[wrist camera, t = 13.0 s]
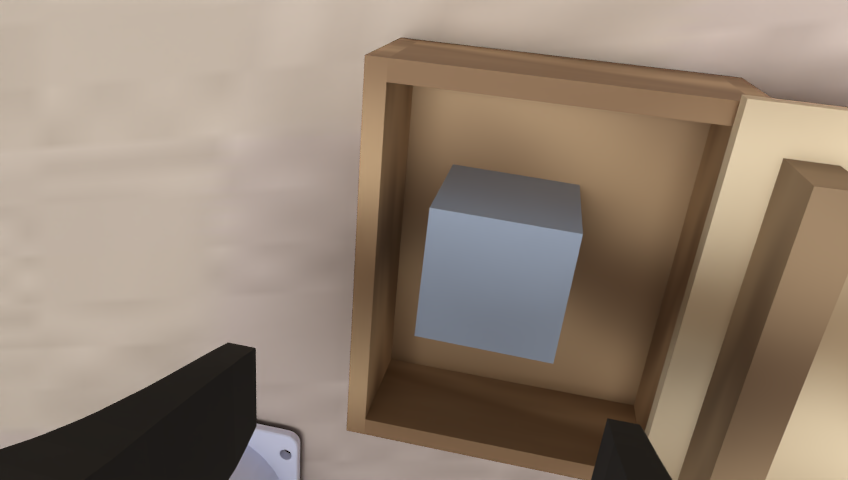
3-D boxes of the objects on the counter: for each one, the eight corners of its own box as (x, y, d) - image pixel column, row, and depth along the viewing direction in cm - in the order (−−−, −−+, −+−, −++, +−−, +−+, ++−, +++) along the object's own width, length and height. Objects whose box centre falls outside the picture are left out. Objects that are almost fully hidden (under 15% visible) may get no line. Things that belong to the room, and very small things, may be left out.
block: (555, 296, 22) (553, 363, 18) (438, 274, 22) (414, 335, 19) (579, 185, 20) (583, 234, 17) (453, 164, 21) (429, 207, 17)
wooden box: (645, 413, 23) (660, 495, 20) (378, 362, 25) (346, 430, 21) (741, 77, 19) (784, 106, 15) (400, 37, 20) (364, 55, 16)
